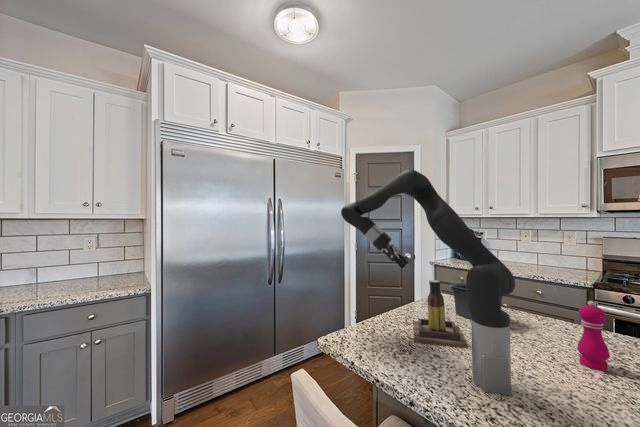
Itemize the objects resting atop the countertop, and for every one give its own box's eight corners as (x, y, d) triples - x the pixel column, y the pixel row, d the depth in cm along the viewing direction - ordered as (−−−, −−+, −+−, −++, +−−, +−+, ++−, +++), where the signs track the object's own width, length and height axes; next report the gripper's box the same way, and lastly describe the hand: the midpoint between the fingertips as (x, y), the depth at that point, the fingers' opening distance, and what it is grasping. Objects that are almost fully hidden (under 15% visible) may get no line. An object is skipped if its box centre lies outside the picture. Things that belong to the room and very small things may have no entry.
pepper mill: (599, 373, 82) (597, 305, 83) (571, 361, 89) (570, 298, 90) (616, 369, 84) (614, 303, 85) (587, 358, 91) (585, 296, 92)
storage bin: (447, 313, 135) (446, 284, 135) (467, 308, 142) (466, 280, 143) (491, 328, 116) (490, 294, 116) (512, 321, 124) (511, 289, 124)
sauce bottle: (442, 328, 113) (441, 279, 114) (448, 334, 107) (447, 282, 108) (426, 327, 114) (425, 279, 115) (430, 333, 108) (429, 282, 108)
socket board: (467, 348, 99) (467, 338, 99) (414, 341, 105) (413, 332, 105) (458, 328, 116) (458, 320, 116) (413, 324, 122) (413, 316, 122)
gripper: (380, 232, 113) (410, 261, 108) (387, 230, 126) (414, 257, 121) (367, 244, 115) (396, 274, 110) (375, 242, 128) (401, 268, 123)
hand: (405, 265), depth 116 cm, fingers open, 8 cm apart
